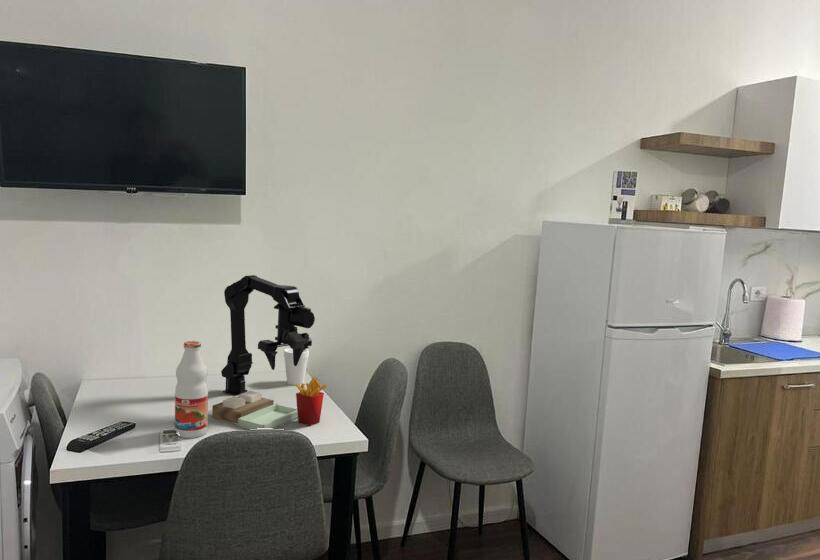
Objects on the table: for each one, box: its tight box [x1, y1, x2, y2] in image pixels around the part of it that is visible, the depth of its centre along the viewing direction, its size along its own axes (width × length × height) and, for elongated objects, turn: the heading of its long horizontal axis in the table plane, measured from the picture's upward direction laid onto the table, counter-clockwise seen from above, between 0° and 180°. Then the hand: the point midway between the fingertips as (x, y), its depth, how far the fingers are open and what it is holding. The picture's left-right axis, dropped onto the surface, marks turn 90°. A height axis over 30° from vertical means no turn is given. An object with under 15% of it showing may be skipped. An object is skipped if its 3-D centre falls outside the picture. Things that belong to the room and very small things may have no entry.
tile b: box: [222, 395, 245, 409], centre depth 215 cm, size 5×5×2 cm
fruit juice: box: [174, 340, 209, 439], centre depth 198 cm, size 9×9×28 cm
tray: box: [237, 403, 298, 430], centre depth 214 cm, size 11×19×2 cm, turn 153°
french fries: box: [295, 377, 328, 427], centre depth 214 cm, size 9×8×15 cm
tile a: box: [239, 390, 263, 403], centre depth 222 cm, size 5×5×2 cm
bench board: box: [211, 395, 275, 425], centre depth 219 cm, size 12×16×4 cm
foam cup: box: [283, 347, 310, 386], centre depth 258 cm, size 10×9×13 cm
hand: (284, 367), depth 228 cm, fingers open, 9 cm apart
